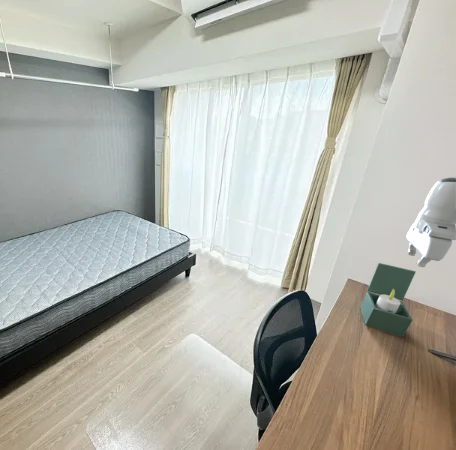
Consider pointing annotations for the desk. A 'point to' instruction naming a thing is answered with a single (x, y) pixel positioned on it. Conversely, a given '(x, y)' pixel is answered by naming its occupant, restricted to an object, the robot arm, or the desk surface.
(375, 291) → the box lid
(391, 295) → the candle
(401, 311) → the box
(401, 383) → the desk surface
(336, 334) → the desk surface
